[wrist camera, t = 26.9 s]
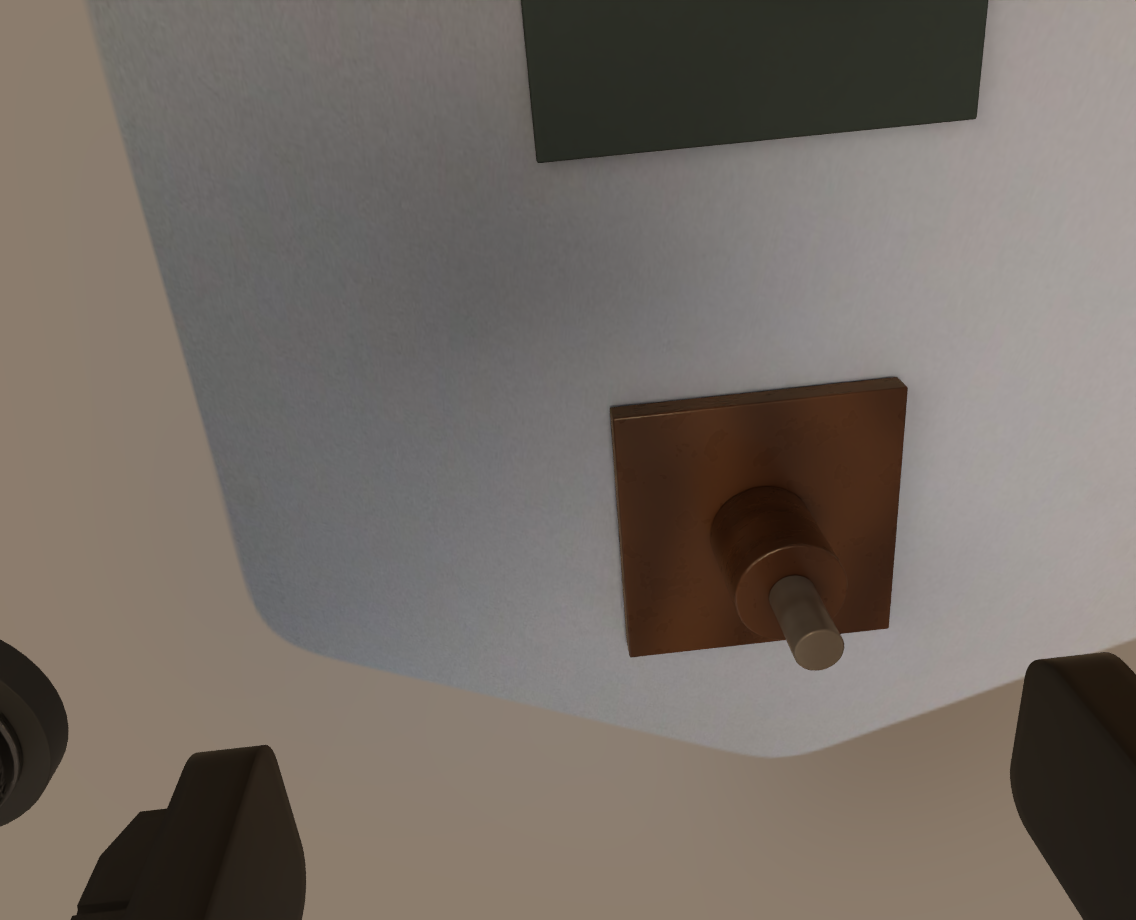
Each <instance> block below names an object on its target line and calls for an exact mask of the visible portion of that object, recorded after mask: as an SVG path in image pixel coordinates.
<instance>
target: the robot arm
mask: <svg viewBox="0 0 1136 920" xmlns="http://www.w3.org/2000/svg"><path fill="white" fill-rule="evenodd" d="M22 764H23V757H22V749H21V745H20V742H19V739H18V737H17V735H16V733H15V731H14V729H13V727H12V726H11V724H10V723H9V721H8V720H7V719H6V718H5V716H4V715H3V714H2V713H1V712H0V806H2V804H3V803H4V802H5V801H6V800H7V798H8V797H9V795H10V794H11V792H12V791H13V789H14V787H15V786H16V784H17V782H18V780H19V777H20V774H21V771H22ZM1010 779H1011V788H1012V793H1013V798H1014V802H1015V805H1016V808H1017V811H1018V813H1019V816H1020V818H1021V820H1022V822H1023V825H1024V826H1025V828H1026V830H1027V832H1028V833H1029V835H1030V836H1031V838H1032V840H1033V841H1034V843H1035V844H1036V846H1037V847H1038V849H1039V850H1040V852H1041V854H1042V855H1043V857H1044V858H1045V860H1046V862H1047V863H1048V865H1049V866H1050V868H1051V869H1052V871H1053V873H1054V874H1055V876H1056V877H1057V879H1058V880H1059V882H1060V884H1061V885H1062V887H1063V888H1064V890H1065V892H1066V893H1067V895H1068V896H1069V898H1070V899H1071V901H1072V903H1073V904H1074V906H1075V907H1076V909H1077V910H1078V912H1079V913H1080V915H1081V917H1082V918H1083V920H1136V674H1135V673H1134V672H1133V671H1132V670H1131V669H1130V668H1129V667H1128V666H1127V665H1126V664H1125V663H1124V662H1123V661H1122V660H1121V659H1120V658H1119V657H1117V656H1116V655H1114V654H1111V653H1108V652H1101V653H1092V654H1083V655H1075V656H1066V657H1057V658H1048V659H1039V660H1035V661H1033V662H1032V663H1031V664H1030V665H1029V667H1028V669H1027V671H1026V675H1025V679H1024V685H1023V692H1022V698H1021V704H1020V710H1019V716H1018V722H1017V728H1016V734H1015V741H1014V747H1013V753H1012V759H1011V767H1010ZM305 869H306V868H305V859H304V852H303V847H302V844H301V840H300V837H299V833H298V830H297V827H296V823H295V820H294V817H293V813H292V809H291V806H290V803H289V800H288V796H287V793H286V790H285V786H284V783H283V779H282V776H281V772H280V769H279V766H278V762H277V759H276V757H275V754H274V752H273V750H272V749H271V748H270V747H269V746H268V745H261V746H252V747H243V748H234V749H225V750H216V751H208V752H200V753H195V754H193V755H192V756H191V757H190V758H189V759H188V761H187V762H186V764H185V766H184V769H183V771H182V773H181V776H180V778H179V781H178V784H177V786H176V788H175V791H174V793H173V796H172V798H171V801H170V803H169V806H168V808H167V809H160V810H151V811H142V812H139V814H138V815H137V816H136V817H135V818H134V819H133V820H132V821H131V822H130V824H129V825H128V826H127V827H126V828H125V829H124V830H123V831H122V833H121V834H120V835H119V836H118V837H117V838H116V839H115V840H114V841H113V842H112V843H111V845H110V846H109V847H108V848H107V849H106V850H105V851H104V852H103V853H102V855H101V856H100V857H99V860H98V862H97V864H96V866H95V868H94V870H93V873H92V875H91V877H90V879H89V881H88V884H87V886H86V888H85V890H84V892H83V894H82V897H81V899H80V901H79V903H78V905H77V907H78V912H77V915H75V916H72V918H71V920H302V915H303V910H304V903H305V893H306V870H305Z"/></svg>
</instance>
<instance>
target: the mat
mask: <svg viewBox="0 0 1136 920" xmlns="http://www.w3.org/2000/svg"><path fill="white" fill-rule="evenodd" d="M521 6H522V16H523V26H524V36H525V47H526V57H527V67H528V77H529V88H530V98H531V108H532V118H533V129H534V139H535V149H536V159H537V162H538V163H543V162H553V161H563V160H573V159H583V158H593V157H603V156H613V155H623V154H633V153H642V152H652V151H662V150H672V149H682V148H692V147H702V146H712V145H722V144H732V143H742V142H752V141H762V140H772V139H782V138H792V137H801V136H811V135H821V134H831V133H841V132H851V131H861V130H871V129H881V128H891V127H901V126H911V125H921V124H931V123H941V122H951V121H960V120H970V119H976V117H977V107H978V97H979V87H980V77H981V67H982V57H983V47H984V37H985V27H986V18H987V8H988V0H521Z"/></svg>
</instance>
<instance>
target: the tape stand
mask: <svg viewBox="0 0 1136 920" xmlns="http://www.w3.org/2000/svg"><path fill="white" fill-rule="evenodd" d="M907 390H908V388H907V386H906V385H905V384H904V383H903V382H902V381H901V380H899V379H898V378H897V377H892V378H883V379H874V380H864V381H855V382H845V383H836V384H827V385H817V386H808V387H799V388H789V389H780V390H770V391H761V392H752V393H742V394H733V395H723V396H714V397H705V398H695V399H686V400H677V401H667V402H658V403H648V404H639V405H630V406H620V407H611V408H610V418H611V432H612V446H613V460H614V473H615V487H616V501H617V515H618V528H619V542H620V556H621V570H622V583H623V597H624V611H625V625H626V638H627V646H628V651H629V655H630V657H638V656H647V655H656V654H665V653H674V652H683V651H691V650H700V649H709V648H718V647H727V646H736V645H745V644H754V643H763V642H771V641H780V640H787V643H788V645H789V647H790V649H791V652H792V654H793V656H794V658H795V660H796V662H797V663H798V664H799V665H800V666H802V667H803V668H805V669H808V670H823V669H826V668H828V667H830V666H832V665H834V664H835V663H836V662H837V661H838V660H839V659H840V658H841V656H842V654H843V651H844V641H843V639H842V637H841V635H840V634H843V633H852V632H860V631H869V630H878V629H887V628H889V617H890V604H891V592H892V579H893V567H894V554H895V541H896V529H897V516H898V503H899V491H900V478H901V466H902V453H903V440H904V428H905V415H906V402H907Z"/></svg>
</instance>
